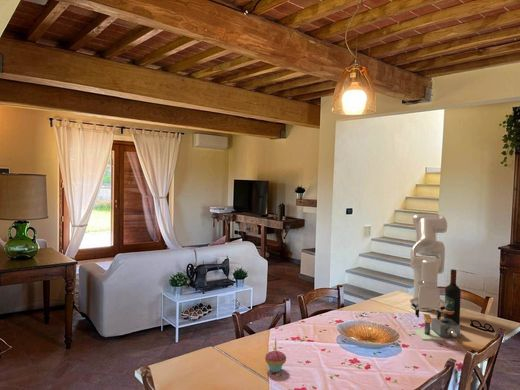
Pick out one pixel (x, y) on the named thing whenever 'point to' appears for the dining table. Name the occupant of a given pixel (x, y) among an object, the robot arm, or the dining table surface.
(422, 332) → the mat
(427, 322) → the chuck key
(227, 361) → the dining table surface
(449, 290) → the wine bottle
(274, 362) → the cupcake
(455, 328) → the chuck block
